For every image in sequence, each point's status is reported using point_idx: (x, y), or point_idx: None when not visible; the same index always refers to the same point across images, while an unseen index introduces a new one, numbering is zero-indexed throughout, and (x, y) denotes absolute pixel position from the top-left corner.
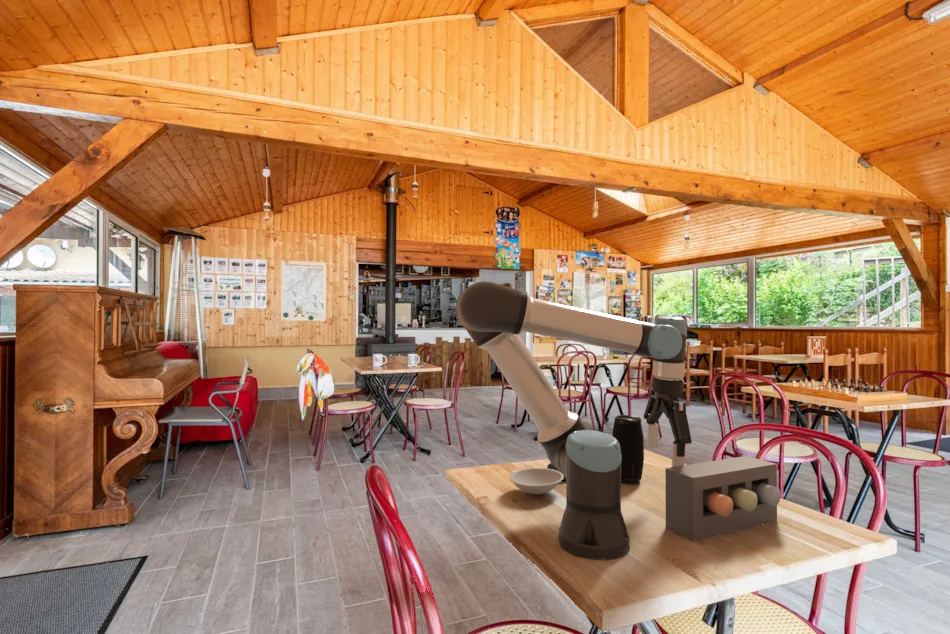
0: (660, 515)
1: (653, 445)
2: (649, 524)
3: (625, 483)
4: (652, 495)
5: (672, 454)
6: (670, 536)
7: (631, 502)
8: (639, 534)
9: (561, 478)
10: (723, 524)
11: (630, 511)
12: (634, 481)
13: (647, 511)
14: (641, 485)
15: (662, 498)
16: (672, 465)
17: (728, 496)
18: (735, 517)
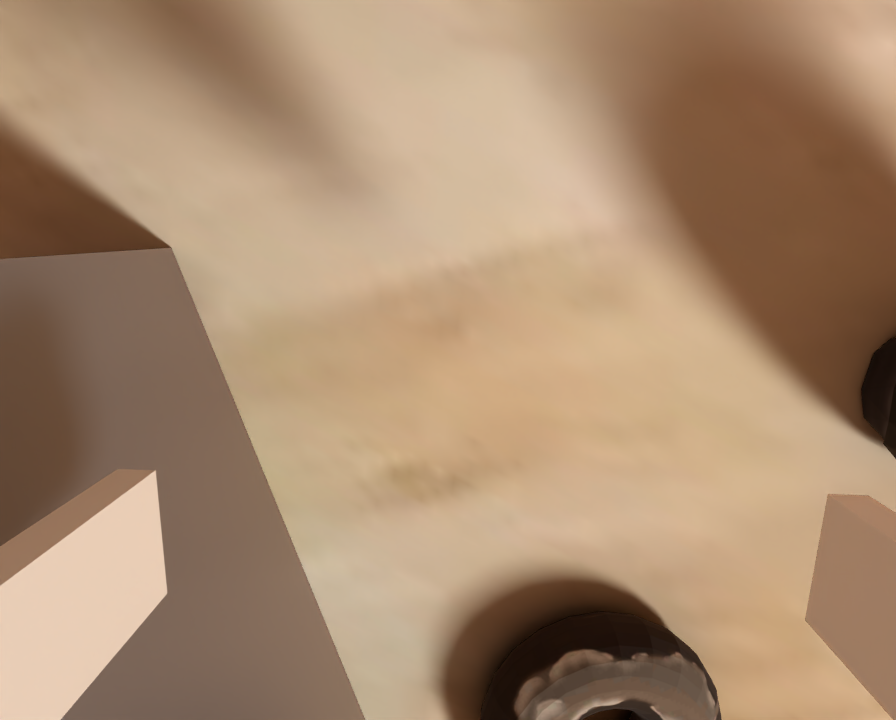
0: (358, 311)
1: (838, 592)
2: (226, 173)
3: (887, 342)
4: (667, 417)
5: (17, 570)
6: (46, 212)
7: (582, 231)
8: (71, 26)
9: None
10: None
11: (439, 151)
12: (875, 399)
13: (427, 262)
14: (836, 431)
15: (610, 451)
16: (118, 483)
17: None
18: None
